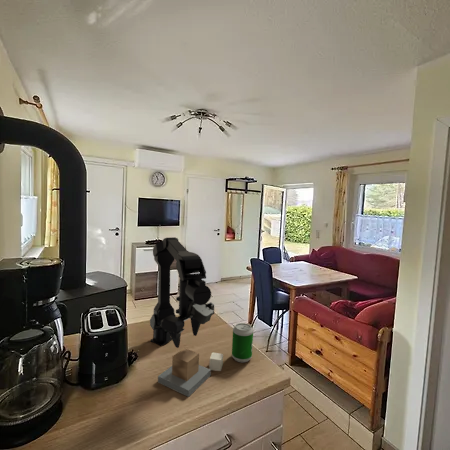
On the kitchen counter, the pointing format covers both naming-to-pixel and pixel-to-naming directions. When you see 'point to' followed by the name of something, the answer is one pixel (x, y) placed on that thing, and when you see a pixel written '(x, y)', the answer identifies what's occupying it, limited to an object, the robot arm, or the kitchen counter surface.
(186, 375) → the walnut cube
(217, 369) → the pale stone block
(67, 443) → the kitchen counter surface
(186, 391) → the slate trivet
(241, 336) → the soda can
